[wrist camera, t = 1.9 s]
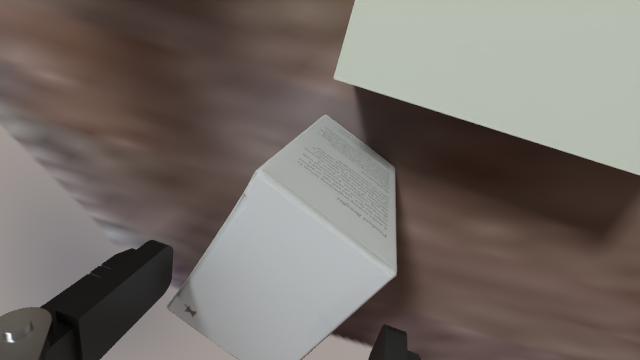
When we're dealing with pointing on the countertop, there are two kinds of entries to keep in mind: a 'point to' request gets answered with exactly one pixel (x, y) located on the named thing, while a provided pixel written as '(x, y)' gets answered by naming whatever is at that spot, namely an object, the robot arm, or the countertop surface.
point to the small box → (297, 249)
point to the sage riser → (509, 67)
